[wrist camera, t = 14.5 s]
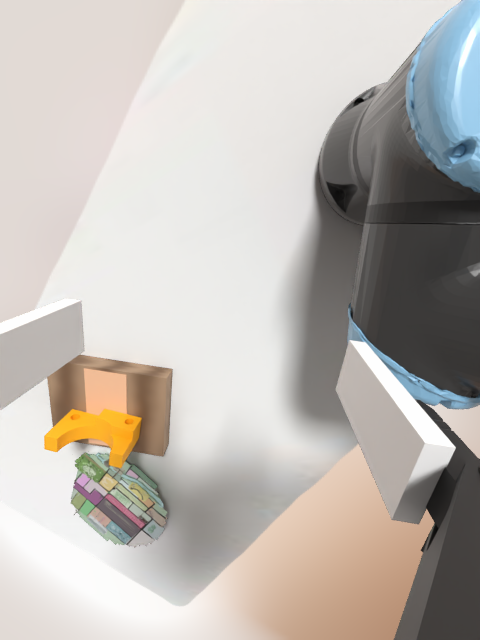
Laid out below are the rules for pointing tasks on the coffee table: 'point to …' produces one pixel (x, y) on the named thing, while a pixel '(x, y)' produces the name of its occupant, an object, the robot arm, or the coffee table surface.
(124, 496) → the city model
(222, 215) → the coffee table surface
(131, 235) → the coffee table surface
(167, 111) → the coffee table surface
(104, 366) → the board
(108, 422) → the pipe clamp
